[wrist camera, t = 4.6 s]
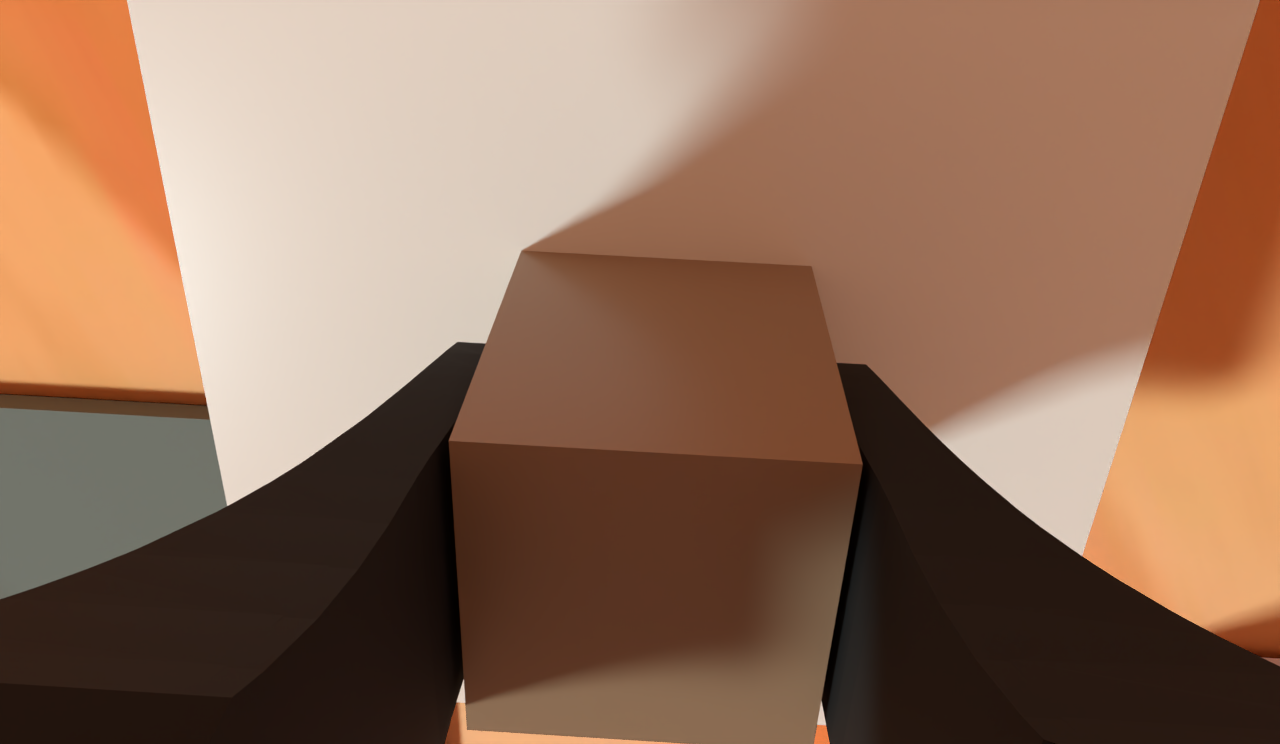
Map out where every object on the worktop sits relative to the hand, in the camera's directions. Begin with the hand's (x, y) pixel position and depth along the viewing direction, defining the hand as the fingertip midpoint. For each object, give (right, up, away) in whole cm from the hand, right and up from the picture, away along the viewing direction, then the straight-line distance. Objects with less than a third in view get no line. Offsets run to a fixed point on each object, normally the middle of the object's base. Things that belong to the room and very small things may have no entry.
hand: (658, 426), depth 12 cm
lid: (0, +1, +2) cm, 2 cm away
